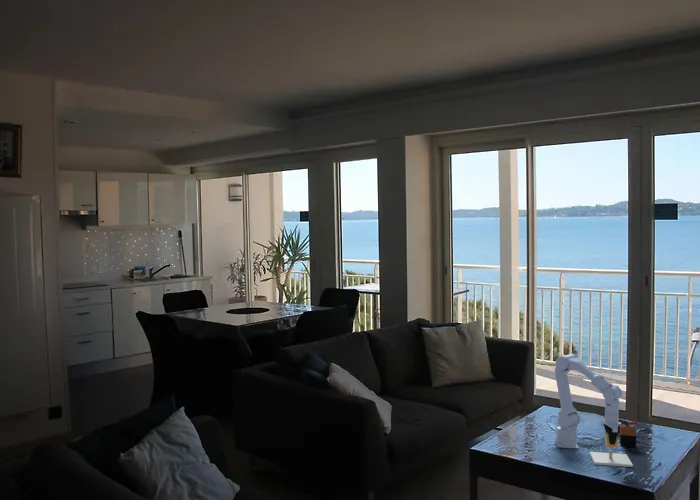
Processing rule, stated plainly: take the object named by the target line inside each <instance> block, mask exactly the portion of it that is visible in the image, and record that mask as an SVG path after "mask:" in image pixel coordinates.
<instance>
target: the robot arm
mask: <svg viewBox="0 0 700 500" xmlns="http://www.w3.org/2000/svg"><path fill="white" fill-rule="evenodd" d="M554 362H555V367H554V375H555V380H556V386H557V387H556V388H557V393H558V397H559V398H558V399H559V403H560V409H559V411H558V413H557V414H558V416H557V417H558V418H557V423H558V426H556V427H555V444H556V446H557V447H558V448H562V449H563V448H565V449H578V450H579V446H578V442H577V439H578V438H577V434H578V433H577V430H578V428H577V427H578V425H579V424H580V422H581V417H580V415H579V413H578V410H577V408H575V407H574V404H573V400H572V399H573V398H572V393H571V389H570V382H569V377H568V374H569V372H570V371H571V370H573V371H574V370H575V371H578V372H579V373H581V374H582V375H584V376H585V377H586V378H588V379H589V380H590V383H591V386H594V388H595V389H596V390H598V391H599V392H600V393H601V394H602V396H603V398H604V416H605V417H604V421H603V422H604V423H603V424H602V425H603V427H604V430H605V432H607V433H608V436H609V443H610V444H612V445H615V443H616V439H617V436H619V435H620V430H618V426H619V425H621V422H618V420H619V416H620V415H619V413H620V411H619V410H620V398H621V397H622V395H623V392H622V390H621V389H622V388H620V387H619V385H615V384H613V383H612V382H610V381H608V380H607V379H606V378H605V376H604V375H601V374H596V373H595V372H594V371H593V370H591V368H590V367H588V366H587V365H586V364H585V363H584V362H583V361H582V358H581V357H579V356H578V355H577V354H576V353H569V354H565V355H560V356H559V357H558V358H556V359H555V360H554Z"/></svg>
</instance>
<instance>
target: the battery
mask: <svg viewBox="0 0 700 500" xmlns="http://www.w3.org/2000/svg"><path fill="white" fill-rule="evenodd" d="M619 444H620V447H627V448H628V447H629V448H636V447H637V428H636V426H635V424H632V425H629V426H626V425H620V433H619Z"/></svg>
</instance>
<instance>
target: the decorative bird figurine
mask: <svg viewBox="0 0 700 500" xmlns="http://www.w3.org/2000/svg"><path fill="white" fill-rule="evenodd" d="M603 418H605V415H604V416H603ZM618 422H621V425H626V426H629V425H636V424H638V423H640V421H628V420H625V419H623V418H619V420H618ZM618 430H620V425H619V426H618Z"/></svg>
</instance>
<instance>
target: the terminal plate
mask: <svg viewBox="0 0 700 500" xmlns="http://www.w3.org/2000/svg"><path fill="white" fill-rule="evenodd" d="M589 456H590V458H591V459H592V463H593V464H594V465H598V466H613V467H626V468H627V467H631V468H633V467H634V464H633V463H632V461H631V459H630V458H629V456H628V454H626V453H618V452H617V453H614V451H613V450H612V449H609V450H608V452H601V451H600V452H599V451H598V452H597V451H589Z"/></svg>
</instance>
